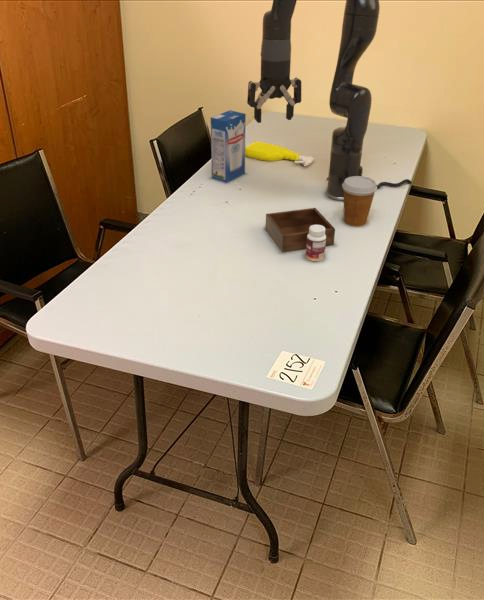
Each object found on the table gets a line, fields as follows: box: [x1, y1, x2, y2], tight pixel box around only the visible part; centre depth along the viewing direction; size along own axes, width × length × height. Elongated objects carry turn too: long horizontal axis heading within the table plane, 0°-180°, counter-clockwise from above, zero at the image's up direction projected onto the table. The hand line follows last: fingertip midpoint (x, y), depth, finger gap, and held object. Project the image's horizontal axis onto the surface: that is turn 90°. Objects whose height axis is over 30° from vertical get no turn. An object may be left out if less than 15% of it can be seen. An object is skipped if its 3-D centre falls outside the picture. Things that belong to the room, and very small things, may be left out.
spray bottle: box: [245, 141, 314, 167], centre depth 212 cm, size 3×11×24 cm
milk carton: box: [210, 110, 247, 184], centre depth 193 cm, size 10×6×20 cm, turn 143°
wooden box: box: [265, 207, 336, 253], centre depth 162 cm, size 15×14×5 cm
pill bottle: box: [305, 225, 326, 262], centre depth 152 cm, size 5×5×8 cm
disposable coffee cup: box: [342, 175, 378, 227], centre depth 168 cm, size 10×10×12 cm
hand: (273, 120), depth 160 cm, fingers open, 8 cm apart
